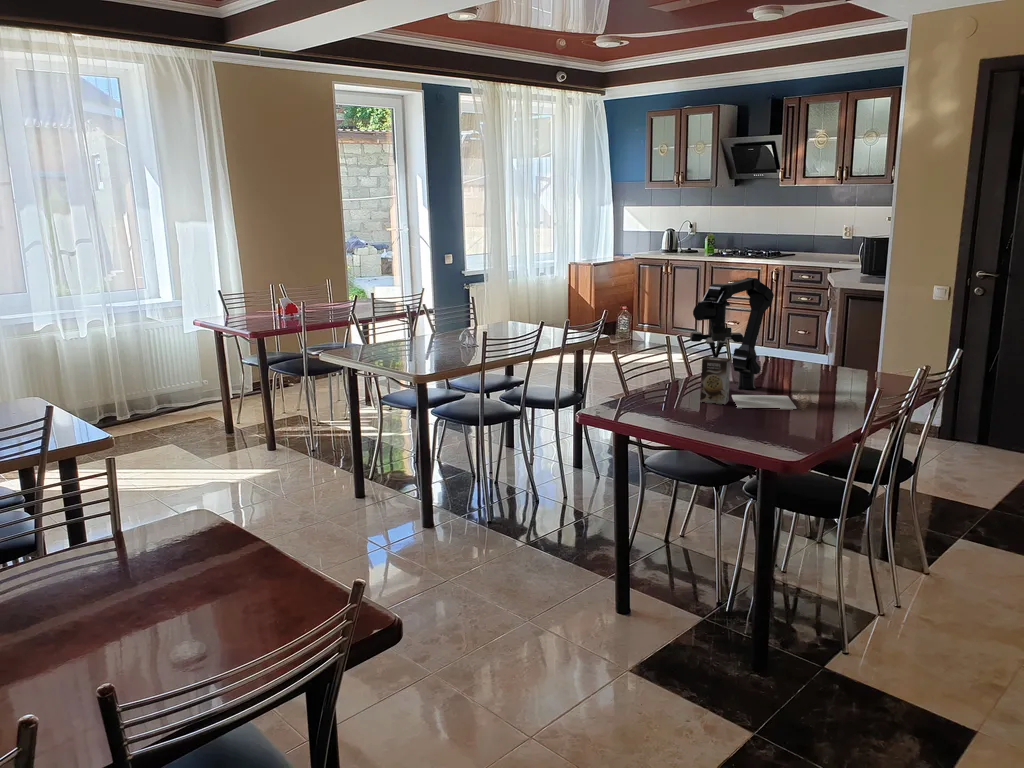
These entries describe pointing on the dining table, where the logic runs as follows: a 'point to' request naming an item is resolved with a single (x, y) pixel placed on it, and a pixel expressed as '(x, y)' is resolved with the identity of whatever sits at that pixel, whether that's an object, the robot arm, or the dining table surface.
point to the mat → (763, 401)
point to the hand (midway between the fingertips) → (715, 360)
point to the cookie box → (715, 380)
